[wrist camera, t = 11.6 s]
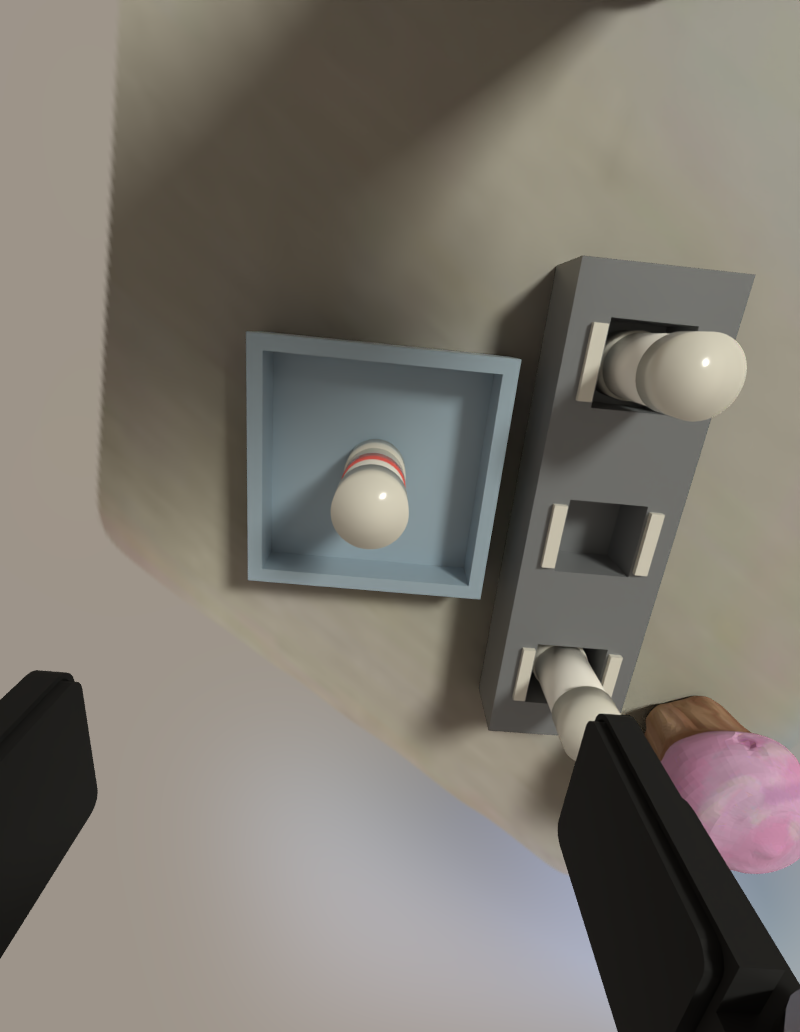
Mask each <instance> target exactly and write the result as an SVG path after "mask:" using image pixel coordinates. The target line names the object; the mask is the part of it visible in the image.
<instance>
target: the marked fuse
mask: <svg viewBox="0 0 800 1032" xmlns="http://www.w3.org/2000/svg"><path fill="white" fill-rule="evenodd" d="M405 479H406V474H405V464H404V459H403V457H402V455H401V453H400V451H399V450H398V449H397V448H396V447H395V446H394V445H393V444H391V443H389V442H387V441H385V440H381V439H369V440H366V441H363V442H361V443H359V444H358V445H357V446H355V447H354V448H353V450H352V451H351V453H350V454H349V457H348V459H347V462H346V465H345V468H344V472H343V476H342V479H341V481H340V482H339V484H338V487H337V489H336V492H335V495H334V498H333V500H332V504H331V520H332V523H333V526H334V528H335V530H336V531H337V533H338V534H339V535H340V537H341V538H342V539H344V540H345V541H346V542H347V543H349V544H351V545H353V546H355V547H358V548H362V549H379V548H383V547H385V546H388V545H390V544H391V543H393V542H394V541H396V540H397V539H398V538H399V537H400V536H401V534H402V533H403V532H404V530H405V528H406V526H407V523H408V518H409V508H408V497H407V491H406V485H405Z"/></svg>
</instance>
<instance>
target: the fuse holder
mask: <svg viewBox="0 0 800 1032" xmlns="http://www.w3.org/2000/svg"><path fill="white" fill-rule="evenodd" d="M754 278H755V275H754V274H745V273H736V272H727V271H718V270H709V269H700V268H691V267H682V266H673V265H664V264H655V263H645V262H636V261H627V260H618V259H609V258H600V257H591V256H580V257H578V258H575V259H573V260H570V261H568V262H565V263H562V264H560V265H557V266H556V271H555V277H554V282H553V287H552V293H551V298H550V304H549V309H548V315H547V320H546V326H545V331H544V336H543V342H542V347H541V353H540V358H539V364H538V369H537V375H536V380H535V386H534V391H533V396H532V402H531V407H530V413H529V418H528V424H527V429H526V435H525V440H524V445H523V451H522V456H521V462H520V467H519V473H518V478H517V484H516V489H515V494H514V500H513V505H512V511H511V516H510V522H509V527H508V533H507V538H506V544H505V549H504V554H503V560H502V565H501V571H500V576H499V582H498V587H497V593H496V598H495V603H494V609H493V614H492V620H491V625H490V631H489V636H488V642H487V647H486V652H485V658H484V663H483V669H482V674H481V680H480V685H479V691H480V695H481V700H482V704H483V708H484V713H485V717H486V721H487V726H488V730H490V731H504V732H518V733H531V734H545V735H558V733H557V730H556V728H555V725H554V723H553V720H552V713H551V710H550V708H549V705H548V703H547V700H546V698H545V695H544V693H543V690H542V688H541V685H540V683H539V681H538V680H537V679H536V677H535V675H534V672H533V670H532V669H533V665H534V660H535V656H536V651H537V647H538V644H541V645H554V646H566V647H579V648H583V650H584V652H585V654H586V656H587V658H588V662H589V664H590V666H591V667H592V669H593V671H594V673H595V674H596V676H597V678H598V680H599V681H600V683H601V685H602V687H603V688H604V690H605V692H606V693H608V694H609V696H610V697H611V698H612V700H613V702H614V704H615V705H616V707H617V709H618V711H619V712H620V714H621V710H622V707H623V704H624V701H625V697H626V694H627V691H628V688H629V684H630V681H631V678H632V675H633V671H634V668H635V665H636V662H637V658H638V655H639V652H640V649H641V645H642V642H643V639H644V636H645V632H646V629H647V626H648V623H649V619H650V616H651V613H652V610H653V606H654V603H655V600H656V597H657V593H658V590H659V587H660V584H661V580H662V577H663V574H664V571H665V567H666V564H667V561H668V558H669V554H670V551H671V548H672V545H673V541H674V538H675V535H676V532H677V528H678V525H679V522H680V519H681V515H682V512H683V509H684V506H685V502H686V499H687V496H688V493H689V489H690V486H691V483H692V480H693V476H694V473H695V470H696V467H697V463H698V460H699V457H700V454H701V450H702V447H703V444H704V441H705V437H706V434H707V431H708V428H709V424H710V421H711V418H710V419H707V420H703V421H696V422H691V421H684V420H681V419H678V418H675V417H671V416H668V415H665V414H662V413H659V412H656V411H654V410H652V409H650V408H649V407H647V406H645V405H642V404H638V403H635V402H632V401H622V400H619V399H616V398H613V397H610V396H607V395H603V394H601V393H599V392H598V391H596V390H595V388H596V384H597V379H598V375H599V370H600V366H601V361H602V357H603V353H604V348H605V344H606V339H607V335H608V334H609V333H612V332H615V331H621V330H627V331H647V332H651V333H673V332H679V331H706V332H720V333H723V334H726V335H728V336H730V337H732V338H733V339H734V340H736V336H737V333H738V330H739V327H740V323H741V320H742V317H743V314H744V310H745V307H746V304H747V301H748V297H749V294H750V291H751V288H752V284H753V281H754Z"/></svg>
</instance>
